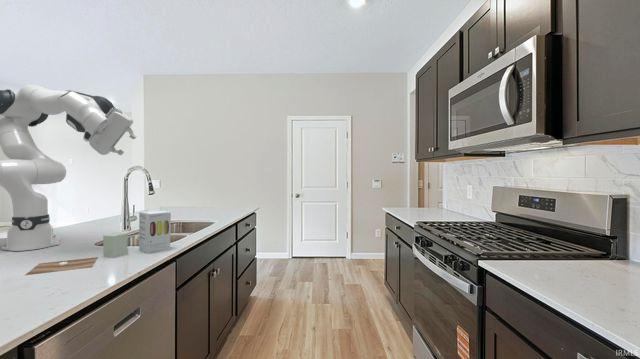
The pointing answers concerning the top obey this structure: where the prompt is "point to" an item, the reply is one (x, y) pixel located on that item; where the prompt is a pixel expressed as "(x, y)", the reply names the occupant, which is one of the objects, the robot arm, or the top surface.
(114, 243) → the sage green eraser
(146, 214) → the supplement box
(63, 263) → the cream dish
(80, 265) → the walnut board
